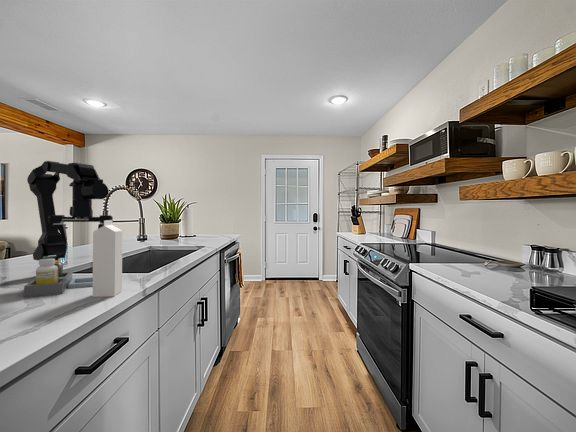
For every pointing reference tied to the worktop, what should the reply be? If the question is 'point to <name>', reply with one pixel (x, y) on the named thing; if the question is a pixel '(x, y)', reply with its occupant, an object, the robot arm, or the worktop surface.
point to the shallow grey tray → (52, 288)
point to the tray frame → (73, 284)
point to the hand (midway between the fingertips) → (82, 243)
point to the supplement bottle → (47, 272)
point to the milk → (107, 260)
